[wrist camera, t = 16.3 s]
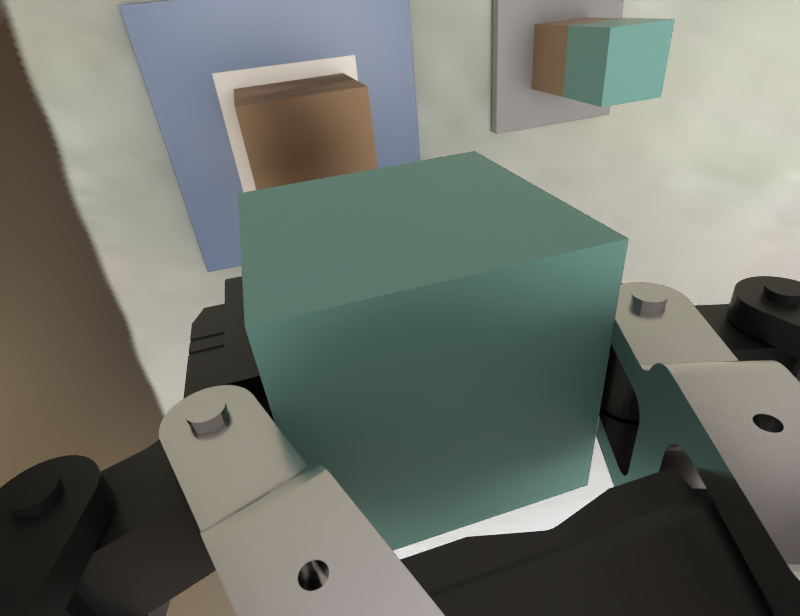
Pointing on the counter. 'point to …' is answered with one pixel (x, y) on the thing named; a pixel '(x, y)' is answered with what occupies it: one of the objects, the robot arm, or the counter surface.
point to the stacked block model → (571, 60)
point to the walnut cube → (306, 129)
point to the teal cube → (432, 336)
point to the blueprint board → (258, 65)
